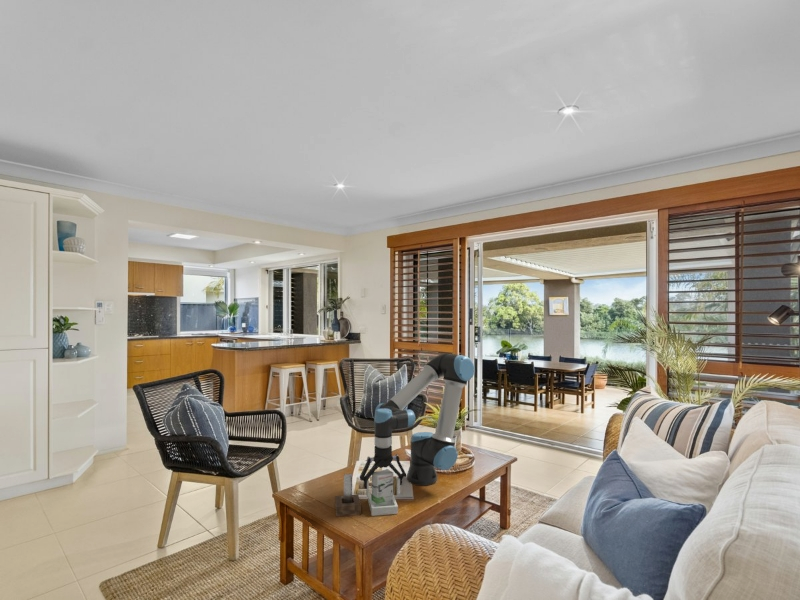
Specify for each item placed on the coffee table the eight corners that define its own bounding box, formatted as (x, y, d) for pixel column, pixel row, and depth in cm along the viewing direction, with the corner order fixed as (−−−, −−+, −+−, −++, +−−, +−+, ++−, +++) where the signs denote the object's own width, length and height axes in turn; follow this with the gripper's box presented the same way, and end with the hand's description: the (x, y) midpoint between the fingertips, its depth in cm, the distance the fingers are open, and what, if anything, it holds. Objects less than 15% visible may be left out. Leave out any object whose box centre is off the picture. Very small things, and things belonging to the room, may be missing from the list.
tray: (392, 498, 191) (392, 491, 191) (397, 513, 177) (398, 506, 177) (367, 500, 189) (367, 493, 189) (371, 515, 175) (371, 508, 175)
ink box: (376, 504, 179) (376, 476, 179) (370, 499, 183) (371, 472, 183) (393, 499, 183) (394, 472, 184) (387, 495, 188) (388, 468, 188)
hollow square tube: (358, 503, 186) (358, 494, 186) (360, 514, 176) (360, 504, 176) (335, 505, 184) (335, 496, 184) (336, 516, 174) (336, 506, 174)
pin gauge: (351, 506, 182) (351, 473, 183) (352, 510, 179) (352, 476, 179) (343, 506, 182) (343, 474, 182) (343, 510, 178) (344, 477, 178)
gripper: (409, 440, 190) (409, 488, 190) (353, 444, 185) (353, 493, 185) (413, 446, 182) (413, 495, 182) (355, 450, 177) (355, 500, 177)
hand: (383, 494), depth 184 cm, fingers open, 13 cm apart
